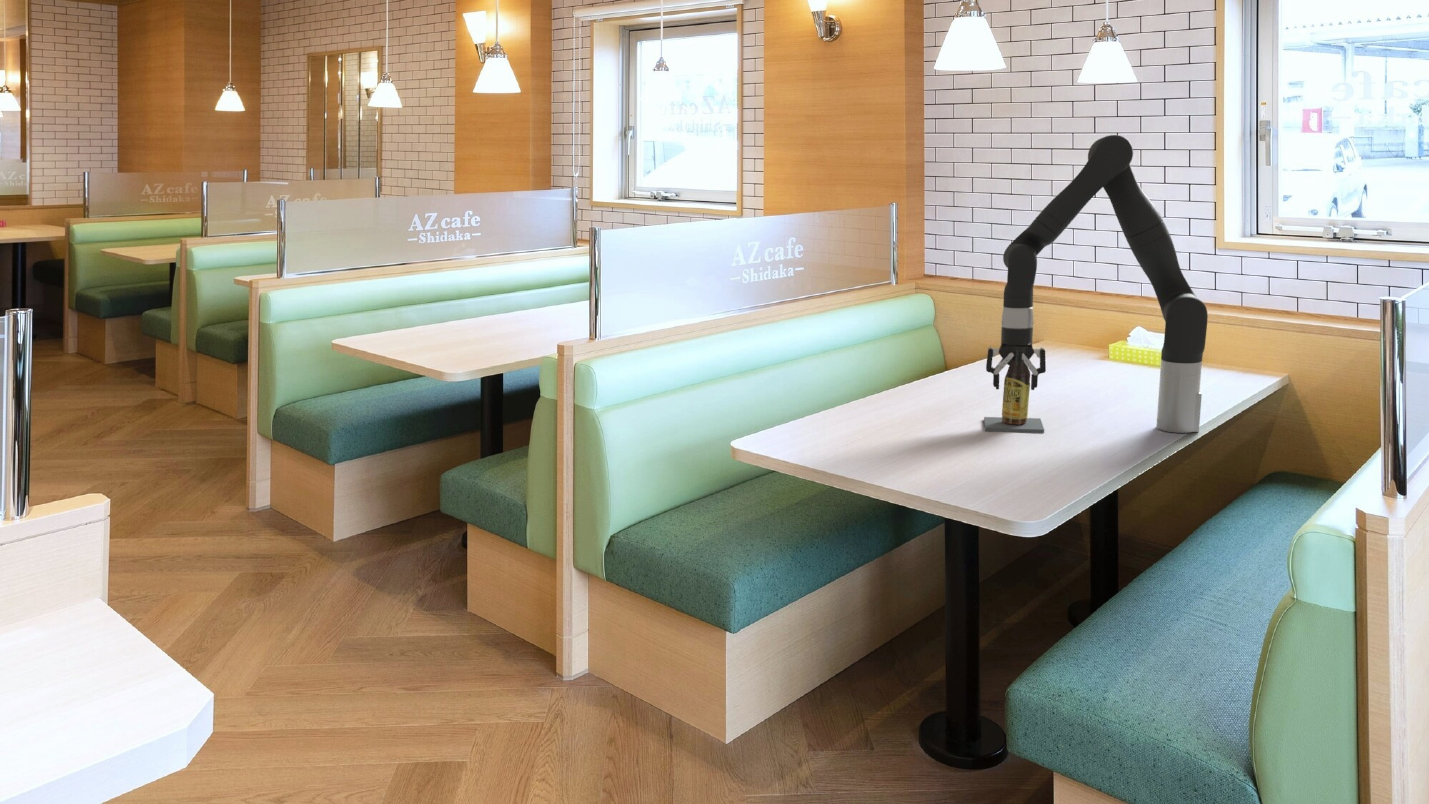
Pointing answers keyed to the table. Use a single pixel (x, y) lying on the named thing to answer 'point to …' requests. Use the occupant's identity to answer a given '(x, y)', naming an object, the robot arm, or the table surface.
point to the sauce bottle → (1016, 389)
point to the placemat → (999, 425)
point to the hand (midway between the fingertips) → (1014, 389)
